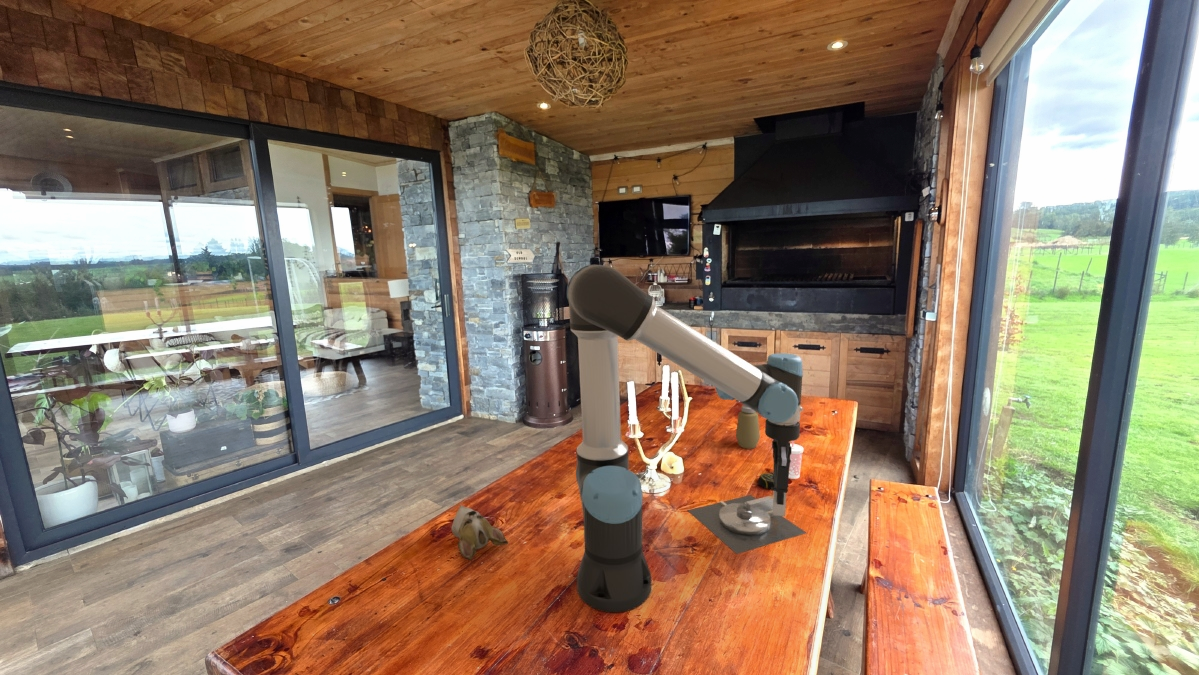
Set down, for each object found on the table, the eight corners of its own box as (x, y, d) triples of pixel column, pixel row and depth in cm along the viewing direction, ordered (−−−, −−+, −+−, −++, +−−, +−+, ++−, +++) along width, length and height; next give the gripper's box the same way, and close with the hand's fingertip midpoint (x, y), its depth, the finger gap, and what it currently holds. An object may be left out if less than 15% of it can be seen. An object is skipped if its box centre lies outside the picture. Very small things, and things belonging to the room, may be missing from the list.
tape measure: (788, 492, 134) (789, 480, 133) (768, 496, 132) (768, 484, 131) (773, 482, 140) (773, 470, 139) (753, 486, 138) (753, 473, 137)
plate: (736, 560, 104) (736, 551, 104) (687, 515, 123) (687, 508, 122) (806, 538, 111) (807, 530, 111) (750, 499, 130) (750, 492, 129)
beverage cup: (796, 481, 140) (798, 436, 137) (776, 475, 144) (778, 431, 142) (806, 475, 143) (808, 431, 141) (786, 469, 148) (788, 426, 146)
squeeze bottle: (762, 444, 168) (763, 395, 165) (756, 452, 161) (757, 401, 158) (739, 440, 172) (740, 392, 170) (732, 447, 166) (733, 397, 163)
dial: (739, 539, 109) (740, 521, 108) (709, 514, 120) (709, 498, 119) (792, 524, 115) (793, 507, 114) (758, 501, 126) (759, 486, 125)
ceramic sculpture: (480, 492, 119) (509, 519, 108) (482, 522, 121) (511, 552, 110) (439, 506, 113) (465, 537, 102) (441, 539, 115) (467, 572, 103)
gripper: (804, 431, 103) (799, 530, 107) (796, 412, 115) (792, 502, 119) (767, 428, 105) (764, 526, 109) (763, 410, 117) (760, 499, 121)
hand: (778, 514), depth 114 cm, fingers closed
